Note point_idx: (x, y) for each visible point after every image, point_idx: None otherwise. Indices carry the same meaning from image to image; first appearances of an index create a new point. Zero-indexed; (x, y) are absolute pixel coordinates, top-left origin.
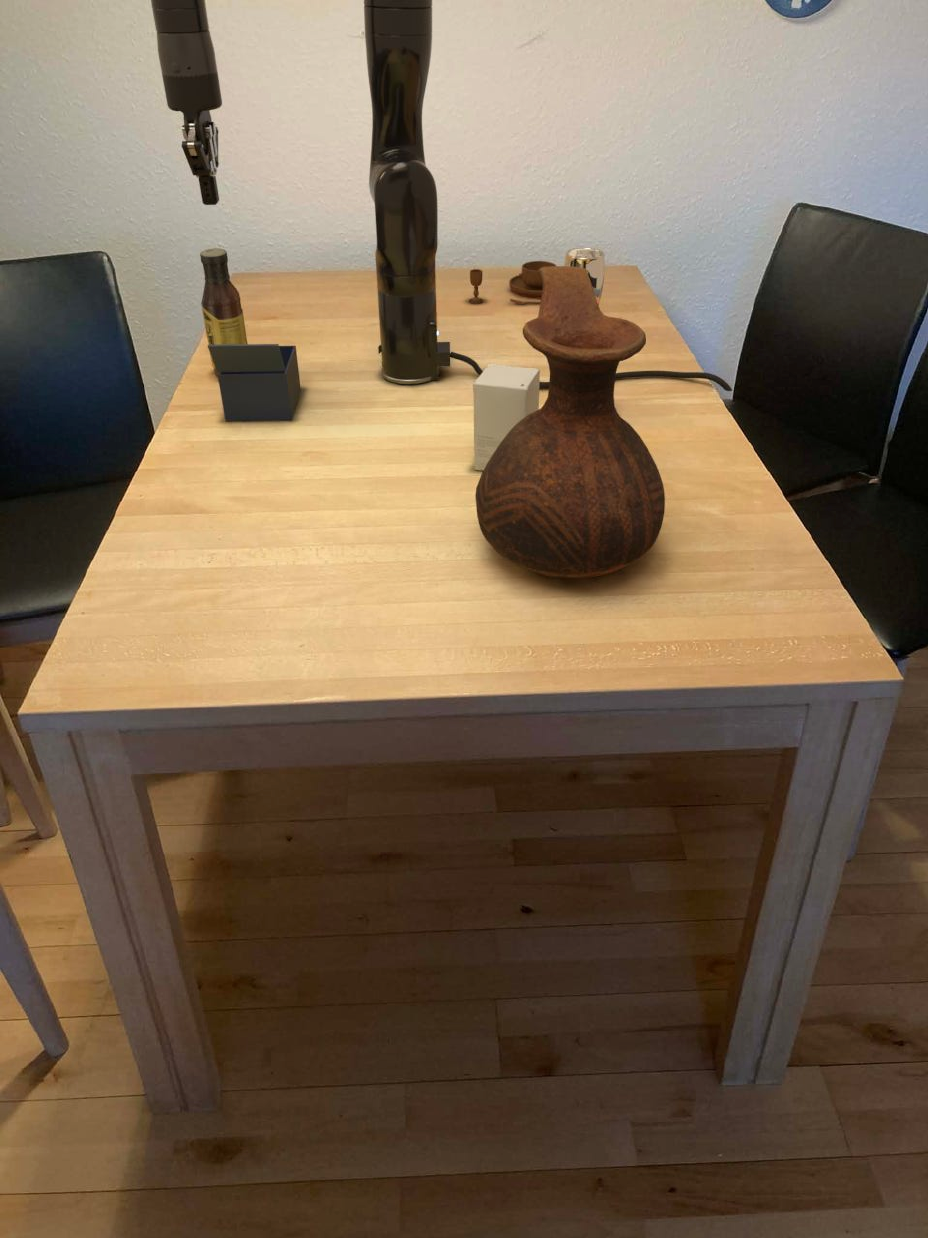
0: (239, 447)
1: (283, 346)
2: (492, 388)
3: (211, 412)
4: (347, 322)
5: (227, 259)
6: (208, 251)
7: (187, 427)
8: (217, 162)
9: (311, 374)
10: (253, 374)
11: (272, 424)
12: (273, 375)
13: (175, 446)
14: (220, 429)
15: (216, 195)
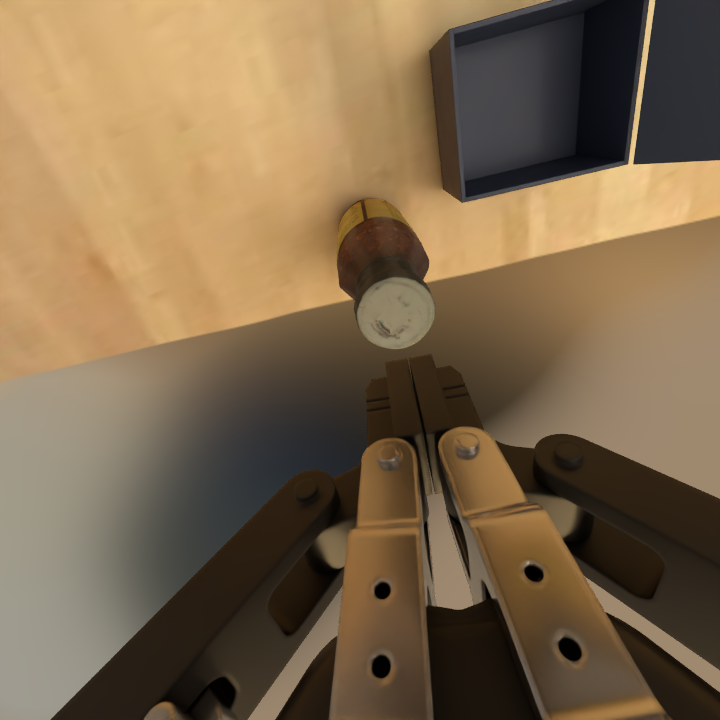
0: None
1: (455, 66)
2: None
3: (535, 200)
4: (26, 81)
5: (388, 269)
6: (394, 330)
7: (592, 215)
8: (314, 492)
9: (345, 57)
10: (637, 74)
11: None
12: (646, 14)
13: (663, 204)
14: None
15: (432, 370)
